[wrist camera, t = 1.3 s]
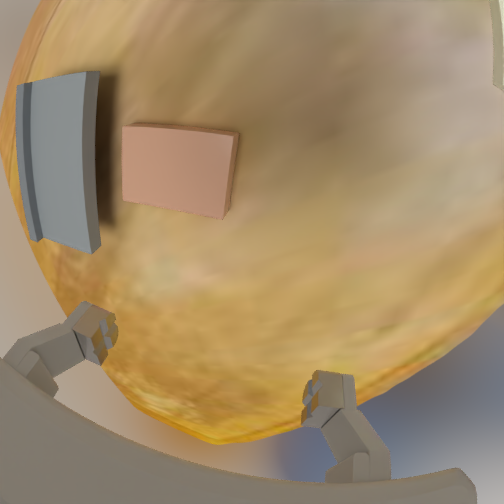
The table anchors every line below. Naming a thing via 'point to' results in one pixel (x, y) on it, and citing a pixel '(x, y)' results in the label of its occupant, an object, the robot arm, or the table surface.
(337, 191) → the table surface
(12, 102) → the table surface
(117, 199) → the table surface
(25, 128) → the grey block
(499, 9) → the puzzle game
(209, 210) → the tile
